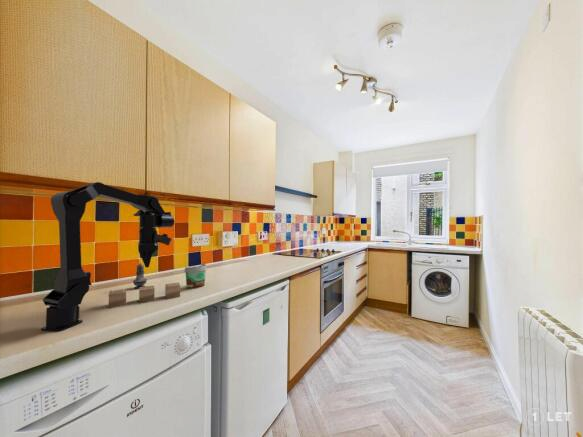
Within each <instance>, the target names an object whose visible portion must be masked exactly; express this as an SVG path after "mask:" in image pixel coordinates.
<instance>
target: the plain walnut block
mask: <svg viewBox="0 0 583 437" xmlns="http://www.w3.org/2000/svg"><path fill="white" fill-rule="evenodd" d="M145 286H146V285H145ZM138 290H139V292H138V293H139V294H138V300H139V301H138V304H142V303H150V302H155V292H156V291H155V286H154V285H149V286H148V285H147V286H146V287H139V289H138Z"/></svg>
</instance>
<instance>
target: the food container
mask: <svg viewBox="0 0 583 437" xmlns="http://www.w3.org/2000/svg"><path fill="white" fill-rule="evenodd" d="M207 270H208V266H207V264H205V263H201V265H198V266H197V265H196V266H195V265H194V266H192V267H190V266H189V267H184V273H185V282H186V283H185V284H186V286H185V287H186V289H191V290H193V289H199V288H204V287H205V282H206V271H207Z"/></svg>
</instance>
